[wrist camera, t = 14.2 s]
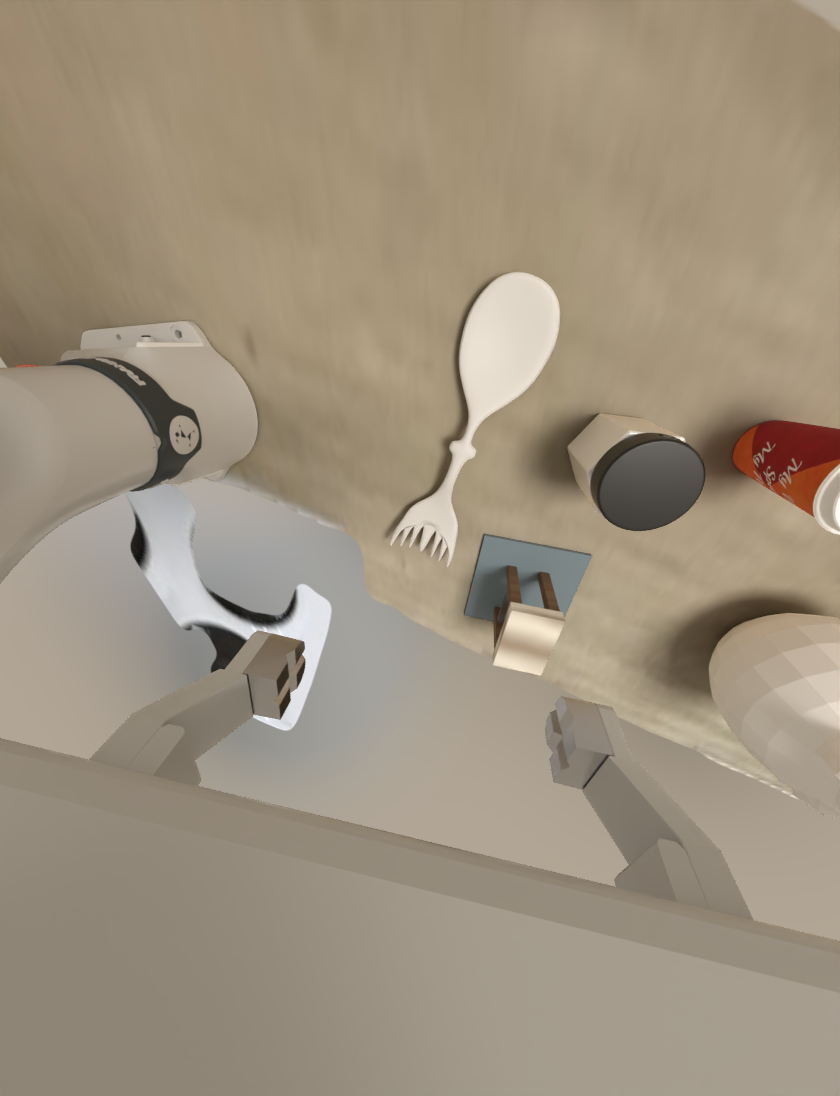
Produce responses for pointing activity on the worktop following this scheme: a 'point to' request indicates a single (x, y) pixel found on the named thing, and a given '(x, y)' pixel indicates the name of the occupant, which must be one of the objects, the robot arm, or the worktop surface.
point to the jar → (636, 471)
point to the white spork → (489, 382)
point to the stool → (526, 627)
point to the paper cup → (796, 466)
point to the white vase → (785, 700)
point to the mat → (523, 574)
